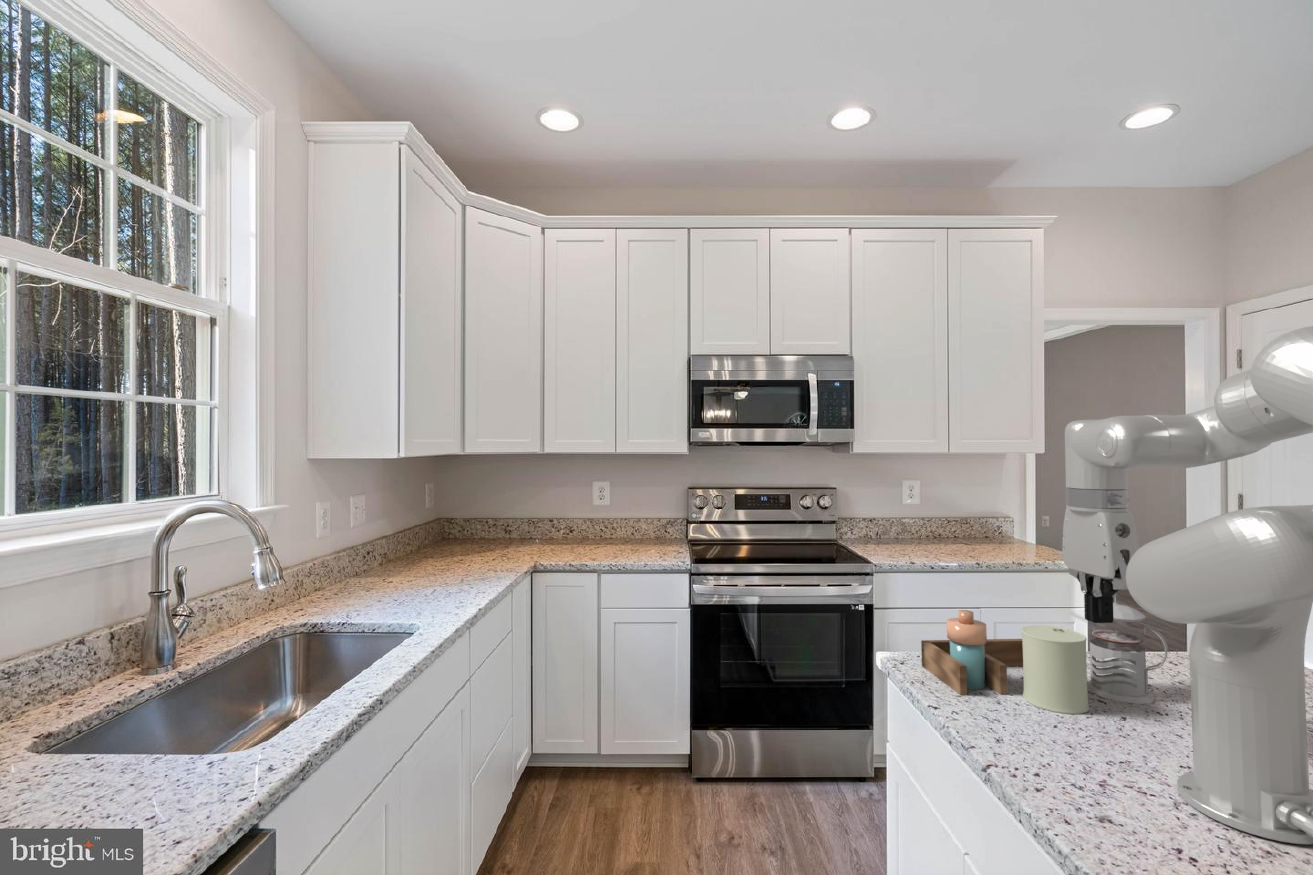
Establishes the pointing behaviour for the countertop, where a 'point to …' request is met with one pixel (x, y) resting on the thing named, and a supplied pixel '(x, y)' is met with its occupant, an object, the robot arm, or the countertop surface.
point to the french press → (1121, 681)
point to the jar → (971, 662)
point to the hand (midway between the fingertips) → (1099, 621)
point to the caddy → (955, 672)
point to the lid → (966, 629)
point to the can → (1055, 669)
